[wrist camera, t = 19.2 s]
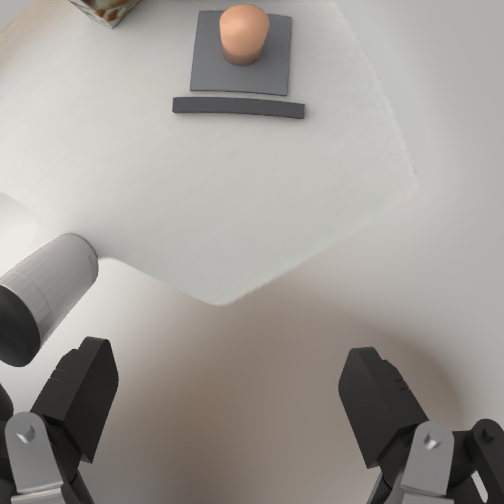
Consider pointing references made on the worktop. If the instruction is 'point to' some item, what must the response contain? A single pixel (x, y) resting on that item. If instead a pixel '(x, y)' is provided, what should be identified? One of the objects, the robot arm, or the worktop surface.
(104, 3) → the coffee box
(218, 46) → the charcoal mat
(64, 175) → the worktop surface
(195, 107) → the dark grey slender bar
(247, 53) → the peach domed cylinder
